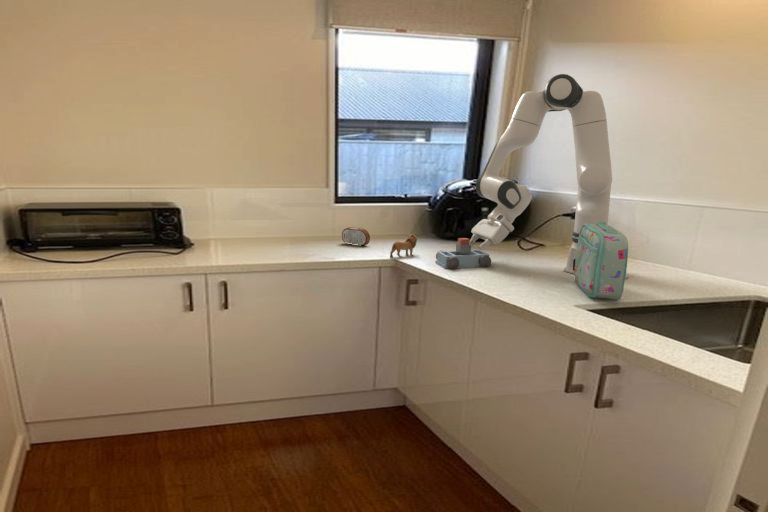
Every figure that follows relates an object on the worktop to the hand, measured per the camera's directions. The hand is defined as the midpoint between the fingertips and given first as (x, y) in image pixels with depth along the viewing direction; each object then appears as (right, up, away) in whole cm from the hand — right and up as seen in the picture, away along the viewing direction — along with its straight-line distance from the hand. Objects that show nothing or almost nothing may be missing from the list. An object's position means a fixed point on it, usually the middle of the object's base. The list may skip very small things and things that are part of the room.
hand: (475, 246), depth 186 cm
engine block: (-5, -6, +1) cm, 7 cm away
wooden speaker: (-49, +1, +41) cm, 64 cm away
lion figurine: (-27, -4, +16) cm, 32 cm away
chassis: (-5, -7, +1) cm, 8 cm away
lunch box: (+31, -15, -36) cm, 50 cm away
